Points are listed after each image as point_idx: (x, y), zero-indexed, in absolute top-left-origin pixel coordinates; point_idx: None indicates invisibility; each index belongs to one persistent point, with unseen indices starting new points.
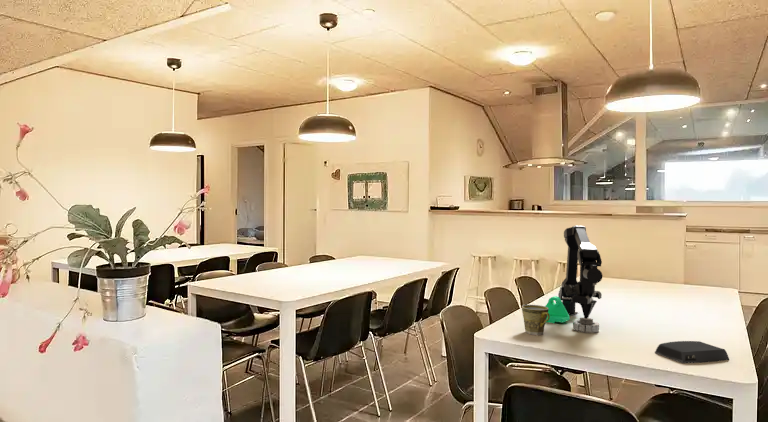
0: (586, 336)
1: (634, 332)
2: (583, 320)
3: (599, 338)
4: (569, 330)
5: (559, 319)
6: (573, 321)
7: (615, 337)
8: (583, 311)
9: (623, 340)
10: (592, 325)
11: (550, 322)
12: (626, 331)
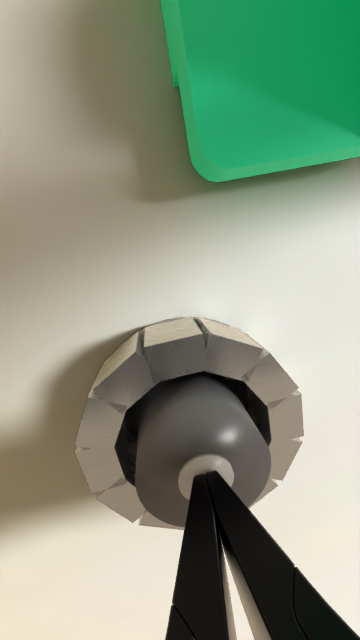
0: (18, 501)
1: (354, 546)
2: (135, 483)
3: (56, 554)
4: (54, 348)
5: (193, 129)
6: (134, 357)
7: (166, 569)
8: (180, 582)
9: (142, 611)
10: (145, 521)
11: (165, 33)
12: (347, 521)
